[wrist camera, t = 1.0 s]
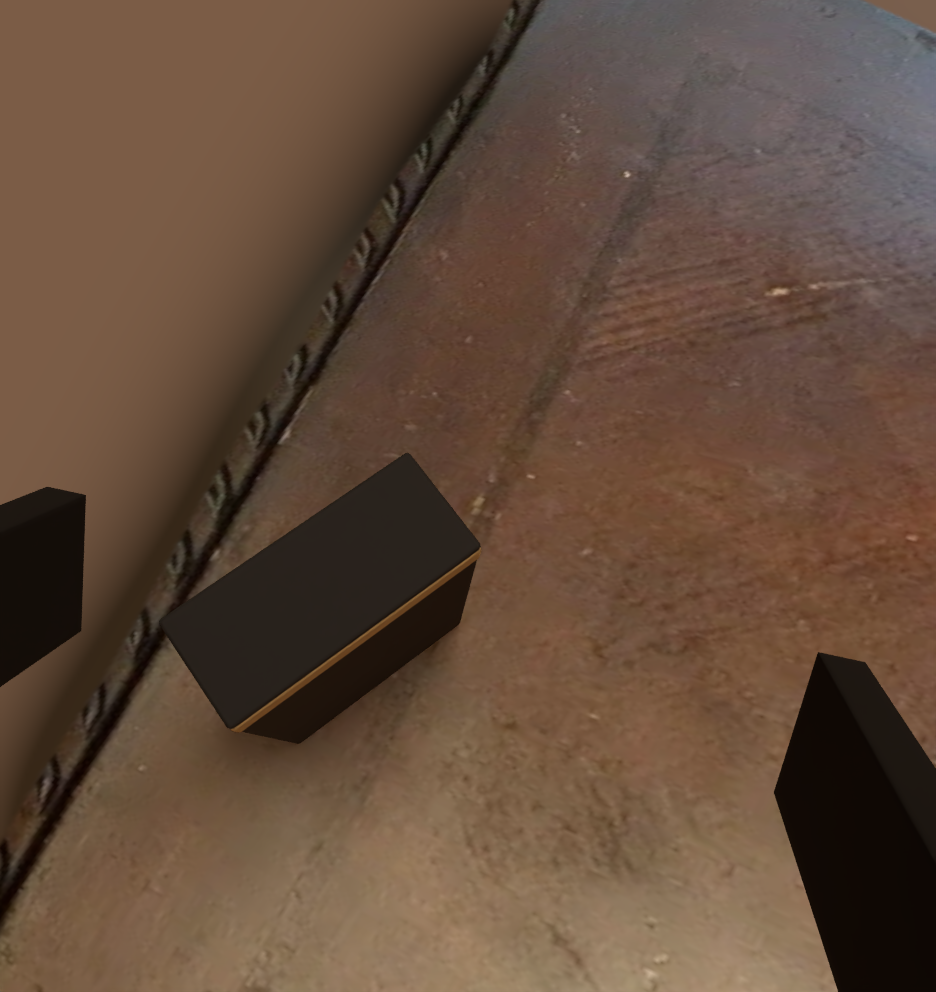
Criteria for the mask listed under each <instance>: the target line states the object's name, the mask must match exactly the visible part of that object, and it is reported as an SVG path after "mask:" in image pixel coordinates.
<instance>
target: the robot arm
mask: <svg viewBox="0 0 936 992" xmlns="http://www.w3.org/2000/svg"><path fill="white" fill-rule="evenodd" d="M85 504H86V495H83V494H78V493H74V492H69V491H64V490H60V489H55V488H51V487H45V488H43V489H40V490H38V491H35V492H33V493H30V494H28V495H25V496H22V497H20V498H17V499H15V500H12V501H10V502H7V503H5V504H2V505H0V687H1V686H2V685H4V684H5V683H7V682H8V681H9V680H11V679H12V678H13V677H15V676H17V675H18V674H19V673H21V672H22V671H24V670H25V669H27V668H28V667H29V666H31V665H33V664H34V663H35V662H37V661H38V660H40V659H41V658H42V657H44V656H46V655H47V654H48V653H50V652H51V651H53V650H54V649H56V648H57V647H59V646H60V645H61V644H63V643H64V642H66V641H67V640H69V639H70V638H72V637H73V636H74V635H76V634H77V633H78V632H80V631H81V620H82V590H83V561H84V559H83V558H84V533H85ZM774 794H775V798H776V801H777V804H778V807H779V810H780V813H781V816H782V819H783V822H784V825H785V828H786V832H787V835H788V838H789V841H790V844H791V847H792V850H793V853H794V856H795V859H796V862H797V866H798V869H799V872H800V875H801V878H802V881H803V884H804V887H805V890H806V893H807V896H808V900H809V903H810V906H811V909H812V912H813V915H814V918H815V921H816V924H817V927H818V930H819V934H820V937H821V940H822V943H823V946H824V949H825V952H826V955H827V958H828V961H829V964H830V968H831V971H832V974H833V977H834V980H835V983H836V986H837V989H838V992H936V768H935V767H934V765H933V764H932V762H931V761H930V759H929V758H928V756H927V755H926V753H925V752H924V750H923V749H922V747H921V746H920V744H919V743H918V741H917V740H916V738H915V737H914V735H913V734H912V732H911V731H910V729H909V728H908V726H907V725H906V723H905V721H904V720H903V718H902V717H901V715H900V714H899V712H898V711H897V709H896V708H895V706H894V705H893V703H892V702H891V700H890V699H889V697H888V696H887V694H886V693H885V691H884V690H883V688H882V687H881V685H880V684H879V682H878V681H877V679H876V678H875V676H874V675H873V673H872V672H871V670H870V669H869V667H868V666H867V664H866V663H865V662H861V661H857V660H852V659H847V658H843V657H838V656H833V655H829V654H824V653H819V652H818V654H817V657H816V660H815V664H814V667H813V670H812V673H811V676H810V679H809V683H808V686H807V689H806V692H805V695H804V698H803V702H802V705H801V708H800V711H799V714H798V717H797V721H796V724H795V727H794V730H793V733H792V736H791V740H790V743H789V746H788V749H787V752H786V755H785V759H784V762H783V765H782V768H781V771H780V775H779V778H778V781H777V784H776V787H775V790H774Z"/></svg>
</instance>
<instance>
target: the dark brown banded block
mask: <svg viewBox="0 0 936 992" xmlns="http://www.w3.org/2000/svg"><path fill="white" fill-rule="evenodd" d="M480 553H481V546H480V543H479V542H478V540H477V539H476V538H475V537H474V535H473V534H472V533H471V532H470V530H469V529H468V528H467V526H466V525H465V524H464V523H463V521H462V520H461V519H460V517H459V516H458V515H457V514H456V512H455V511H454V510H453V508H452V507H451V506H450V505H449V503H448V502H447V501H446V499H445V498H444V497H443V496H442V494H441V493H440V492H439V491H438V489H437V488H436V487H435V485H434V484H433V483H432V482H431V480H430V479H429V478H428V476H427V475H426V474H425V473H424V471H423V470H422V469H421V467H420V466H419V465H418V464H417V462H416V461H415V460H414V458H413V457H412V456H411V455H410V454H409V453H405V454H404V455H402V456H401V457H399V458H398V459H396V460H395V461H393V462H392V463H390V464H389V465H387V466H386V467H384V468H383V469H381V470H380V471H378V472H377V473H376V474H374V475H373V476H371V477H370V478H368V479H367V480H365V481H364V482H362V483H361V484H359V485H358V486H356V487H355V488H353V489H352V490H350V491H349V492H347V493H346V494H345V495H343V496H342V497H340V498H339V499H337V500H336V501H334V502H333V503H331V504H330V505H328V506H327V507H325V508H324V509H322V510H321V511H319V512H318V513H316V514H315V515H314V516H312V517H311V518H309V519H308V520H306V521H305V522H303V523H302V524H300V525H299V526H297V527H296V528H294V529H293V530H291V531H290V532H288V533H287V534H285V535H284V536H283V537H281V538H280V539H278V540H277V541H275V542H274V543H272V544H271V545H269V546H268V547H266V548H265V549H263V550H262V551H260V552H259V553H257V554H256V555H255V556H253V557H252V558H250V559H249V560H247V561H246V562H244V563H243V564H241V565H240V566H238V567H237V568H235V569H234V570H232V571H231V572H229V573H228V574H226V575H225V576H224V577H222V578H221V579H219V580H218V581H216V582H215V583H213V584H212V585H210V586H209V587H207V588H206V589H204V590H203V591H201V592H200V593H198V594H197V595H195V596H194V597H193V598H191V599H190V600H188V601H187V602H185V603H184V604H182V605H181V606H179V607H178V608H176V609H175V610H173V611H172V612H170V613H169V614H167V615H166V616H165V617H163V618H162V619H161V620H160V621H159V624H160V626H161V628H162V629H163V631H164V632H165V634H166V635H167V637H168V638H169V640H170V641H171V643H172V644H173V646H174V647H175V649H176V650H177V652H178V654H179V655H180V657H181V658H182V660H183V661H184V663H185V664H186V666H187V667H188V669H189V670H190V672H191V673H192V675H193V676H194V678H195V679H196V681H197V682H198V684H199V686H200V687H201V689H202V690H203V692H204V693H205V695H206V696H207V698H208V699H209V701H210V702H211V704H212V705H213V707H214V708H215V710H216V711H217V713H218V714H219V716H220V718H221V719H222V721H223V722H224V724H225V725H226V727H227V728H229V729H230V730H231V731H234V732H238V733H239V732H246V733H251V734H255V735H260V736H265V737H269V738H274V739H278V740H283V741H288V742H292V743H297V744H299V743H301V742H302V741H304V740H305V739H306V738H308V737H309V736H310V735H312V734H313V733H314V732H316V731H317V730H318V729H320V728H321V727H322V726H324V725H325V724H326V723H328V722H329V721H330V720H332V719H333V718H334V717H336V716H337V715H338V714H340V713H341V712H342V711H344V710H345V709H346V708H348V707H349V706H350V705H352V704H353V703H354V702H356V701H357V700H358V699H360V698H361V697H362V696H364V695H365V694H366V693H368V692H369V691H370V690H372V689H373V688H374V687H376V686H377V685H378V684H380V683H381V682H382V681H384V680H385V679H386V678H388V677H389V676H390V675H392V674H393V673H394V672H396V671H397V670H398V669H400V668H401V667H402V666H404V665H405V664H406V663H408V662H409V661H410V660H412V659H413V658H414V657H416V656H417V655H419V654H420V653H421V652H423V651H424V650H425V649H427V648H428V647H429V646H431V645H432V644H433V643H435V642H436V641H437V640H439V639H440V638H441V637H443V636H444V635H445V634H447V633H448V632H449V631H451V630H452V629H453V628H455V627H456V626H457V625H459V623H460V620H461V617H462V613H463V609H464V606H465V602H466V598H467V595H468V591H469V587H470V583H471V580H472V576H473V572H474V569H475V565H476V561H477V559H478V558H479V556H480Z"/></svg>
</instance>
